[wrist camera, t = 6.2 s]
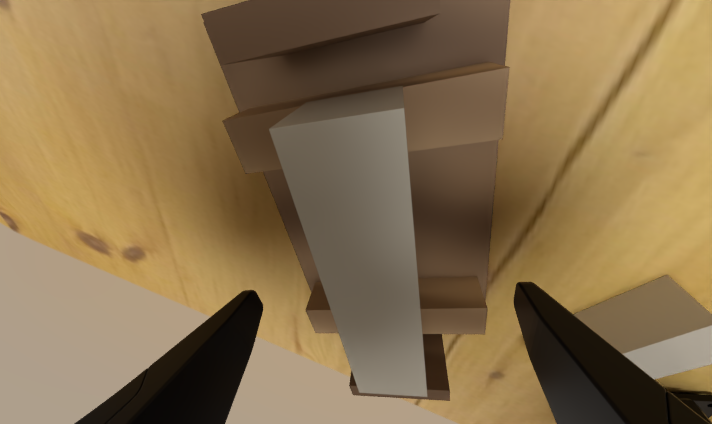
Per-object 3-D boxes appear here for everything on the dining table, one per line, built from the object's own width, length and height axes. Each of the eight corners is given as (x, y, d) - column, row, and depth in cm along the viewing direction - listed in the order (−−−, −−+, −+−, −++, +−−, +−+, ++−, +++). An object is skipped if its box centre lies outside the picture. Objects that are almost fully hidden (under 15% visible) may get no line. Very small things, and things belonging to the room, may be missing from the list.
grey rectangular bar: (422, 333, 14) (427, 396, 12) (366, 332, 15) (359, 392, 12) (402, 85, 8) (404, 107, 5) (306, 102, 9) (268, 128, 6)
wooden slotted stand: (478, 319, 17) (503, 408, 13) (330, 320, 20) (312, 396, 15) (504, -56, 8) (610, -150, 4) (219, 23, 10) (97, 14, 6)
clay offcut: (571, 401, 16) (548, 352, 19) (750, 354, 12) (691, 299, 15) (541, 379, 15) (521, 332, 18) (720, 322, 11) (663, 271, 14)
